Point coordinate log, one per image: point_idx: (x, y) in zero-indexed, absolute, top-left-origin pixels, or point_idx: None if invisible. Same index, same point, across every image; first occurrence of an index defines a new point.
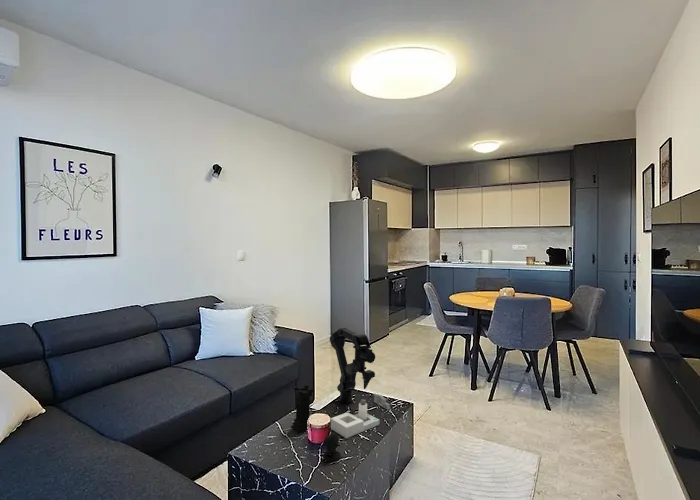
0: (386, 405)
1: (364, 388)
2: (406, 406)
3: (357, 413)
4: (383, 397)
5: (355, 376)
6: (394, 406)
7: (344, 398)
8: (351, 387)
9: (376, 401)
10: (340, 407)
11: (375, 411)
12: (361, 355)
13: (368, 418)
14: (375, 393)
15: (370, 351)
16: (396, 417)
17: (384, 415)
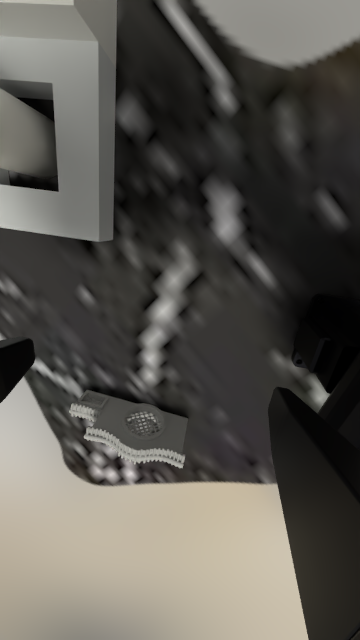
0: (84, 402)
1: (11, 339)
2: (64, 457)
3: (98, 179)
4: (109, 445)
5: (297, 561)
6: None
7: (345, 317)
8: (327, 399)
9: (165, 419)
10: (312, 230)
11: (111, 337)
12: None
13: (9, 186)
14: (175, 463)
15: None
16: None
17: (51, 330)
